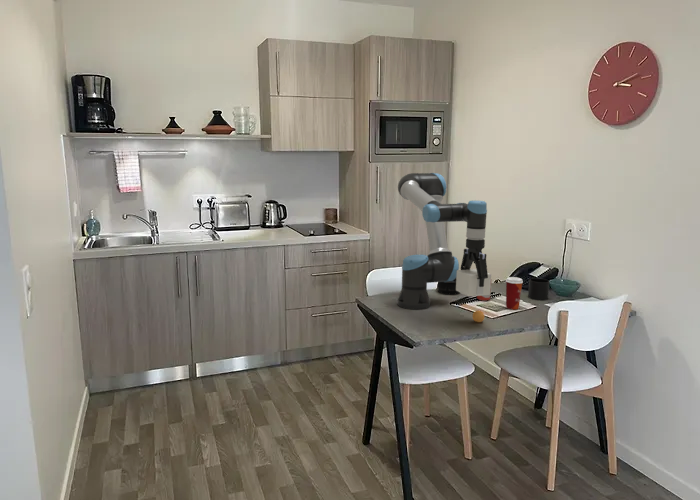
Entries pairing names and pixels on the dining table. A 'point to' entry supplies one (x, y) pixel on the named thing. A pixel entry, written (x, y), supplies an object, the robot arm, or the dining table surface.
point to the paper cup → (513, 292)
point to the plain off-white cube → (471, 283)
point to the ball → (478, 316)
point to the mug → (538, 289)
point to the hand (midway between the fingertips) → (472, 290)
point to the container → (448, 287)
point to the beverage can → (484, 297)
